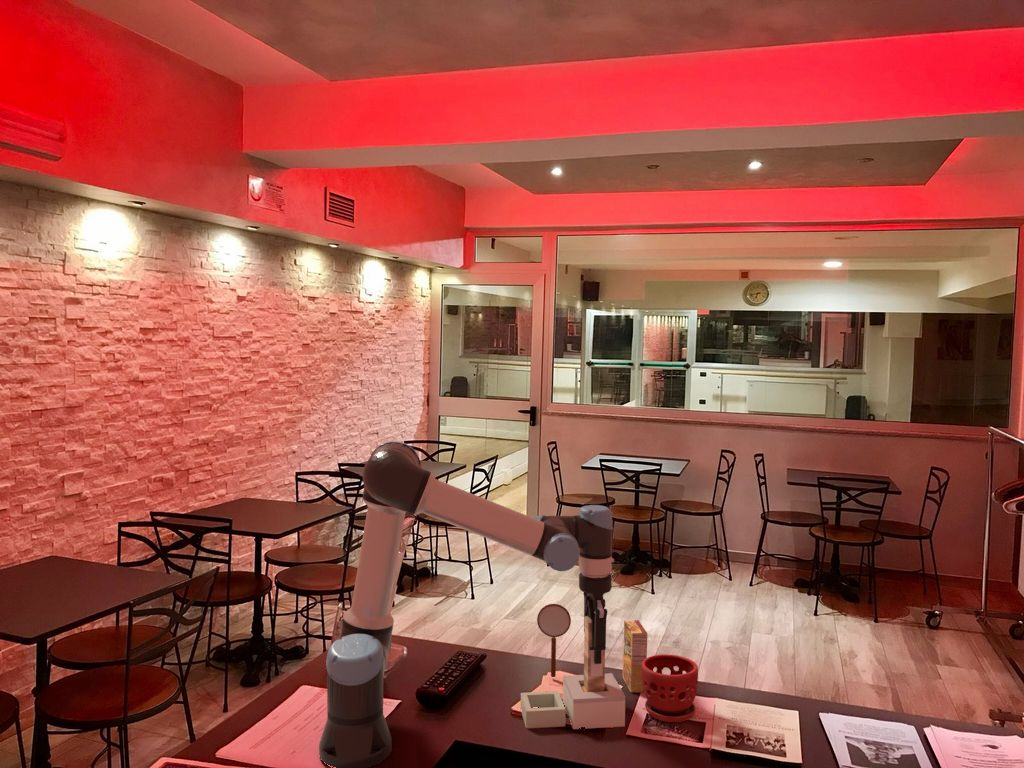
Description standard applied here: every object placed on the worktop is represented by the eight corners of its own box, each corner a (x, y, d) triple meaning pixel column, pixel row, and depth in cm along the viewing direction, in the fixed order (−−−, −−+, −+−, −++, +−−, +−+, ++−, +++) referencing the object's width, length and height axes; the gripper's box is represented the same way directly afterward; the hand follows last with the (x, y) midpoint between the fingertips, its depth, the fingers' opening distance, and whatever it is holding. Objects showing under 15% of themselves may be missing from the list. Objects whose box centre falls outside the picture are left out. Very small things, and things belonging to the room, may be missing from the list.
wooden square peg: (587, 694, 181) (588, 622, 179) (583, 686, 185) (584, 616, 183) (604, 693, 181) (605, 622, 180) (600, 685, 185) (601, 615, 184)
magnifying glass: (570, 679, 202) (571, 603, 200) (569, 682, 200) (571, 605, 199) (536, 677, 202) (537, 602, 201) (536, 680, 201) (537, 604, 199)
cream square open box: (526, 728, 177) (526, 711, 176) (520, 709, 186) (520, 692, 185) (565, 726, 178) (565, 709, 178) (557, 707, 187) (558, 690, 186)
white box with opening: (573, 729, 177) (573, 699, 176) (562, 703, 188) (563, 675, 188) (624, 726, 178) (625, 696, 178) (611, 701, 190) (611, 673, 189)
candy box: (621, 677, 203) (623, 619, 202) (637, 676, 203) (639, 619, 202) (630, 693, 194) (631, 633, 193) (646, 692, 195) (648, 632, 194)
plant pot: (701, 706, 188) (703, 658, 187) (690, 732, 176) (691, 680, 175) (648, 695, 193) (649, 648, 192) (633, 719, 181) (634, 669, 180)
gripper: (621, 584, 173) (619, 687, 175) (602, 561, 190) (601, 655, 191) (587, 585, 172) (586, 688, 174) (571, 562, 189) (570, 656, 190)
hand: (594, 670), depth 182 cm, fingers closed on wooden square peg, 4 cm apart
